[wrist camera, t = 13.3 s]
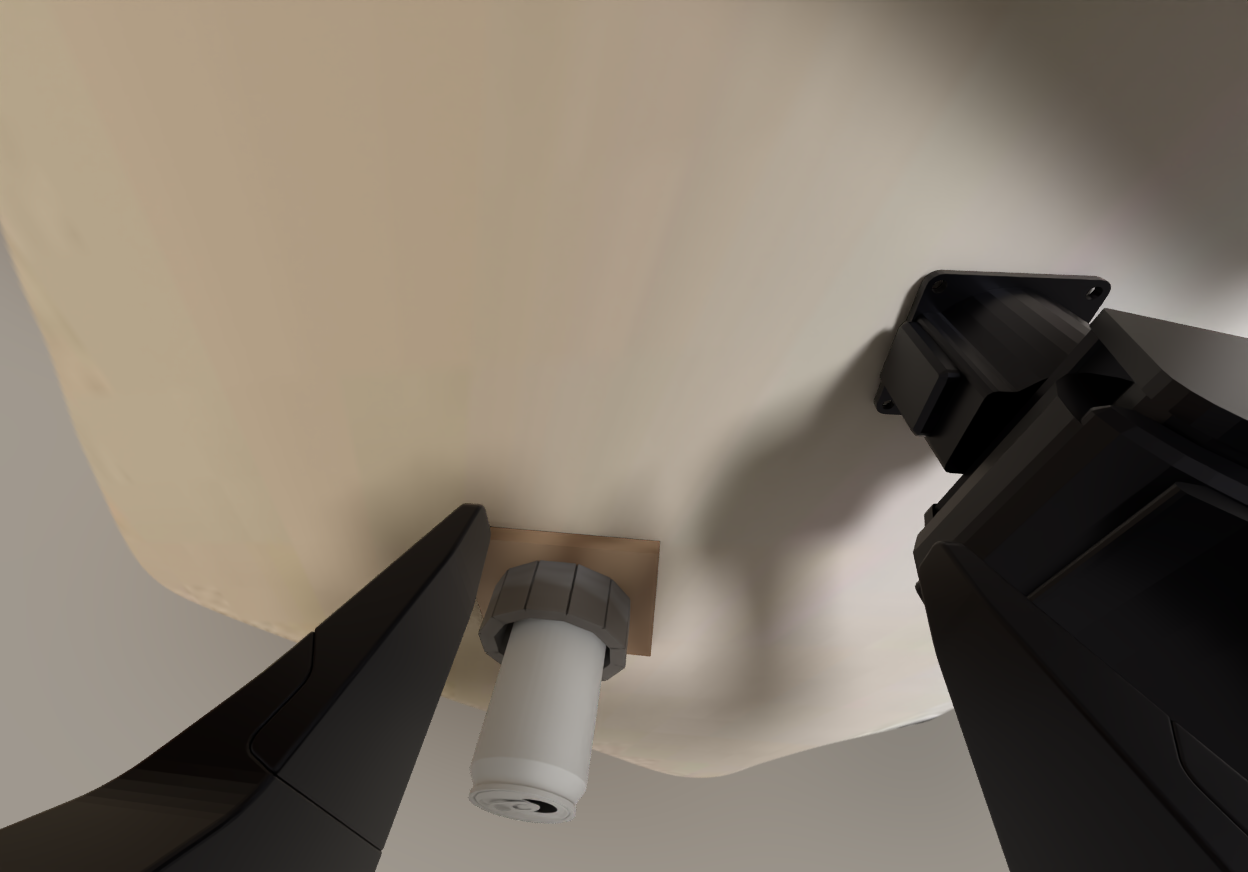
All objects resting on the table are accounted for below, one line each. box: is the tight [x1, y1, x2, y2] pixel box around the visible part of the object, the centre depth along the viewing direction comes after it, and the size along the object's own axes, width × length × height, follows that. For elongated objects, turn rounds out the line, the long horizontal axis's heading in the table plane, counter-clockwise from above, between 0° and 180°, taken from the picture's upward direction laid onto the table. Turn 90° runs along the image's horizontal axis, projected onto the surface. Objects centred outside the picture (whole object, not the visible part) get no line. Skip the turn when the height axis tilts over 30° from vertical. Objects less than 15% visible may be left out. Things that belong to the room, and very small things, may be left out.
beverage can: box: [468, 618, 606, 823], centre depth 29 cm, size 6×6×12 cm
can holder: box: [476, 527, 660, 681], centre depth 33 cm, size 13×13×4 cm
